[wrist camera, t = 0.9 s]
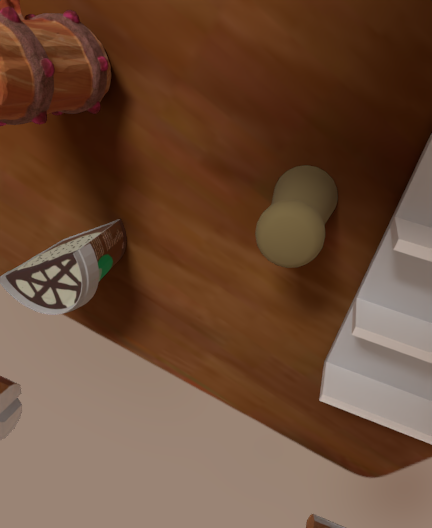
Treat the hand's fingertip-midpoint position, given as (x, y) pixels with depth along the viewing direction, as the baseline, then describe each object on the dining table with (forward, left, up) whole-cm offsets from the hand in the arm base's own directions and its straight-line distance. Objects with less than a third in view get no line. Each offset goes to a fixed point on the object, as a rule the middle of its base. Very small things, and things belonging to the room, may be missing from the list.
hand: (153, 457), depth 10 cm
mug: (-5, -25, -32) cm, 41 cm away
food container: (+17, -20, -32) cm, 41 cm away
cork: (+3, +1, -32) cm, 32 cm away
